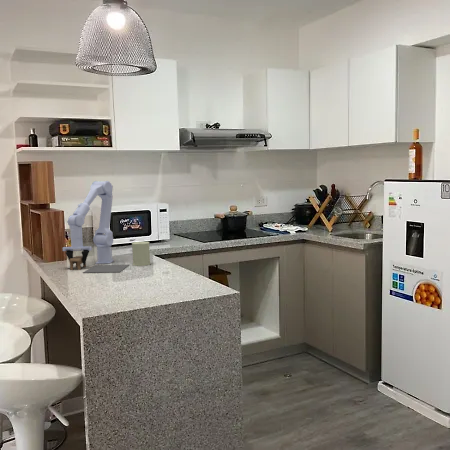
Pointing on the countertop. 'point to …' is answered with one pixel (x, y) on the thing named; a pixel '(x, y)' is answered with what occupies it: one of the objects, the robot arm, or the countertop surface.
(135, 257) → the can
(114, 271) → the mat
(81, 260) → the stool
